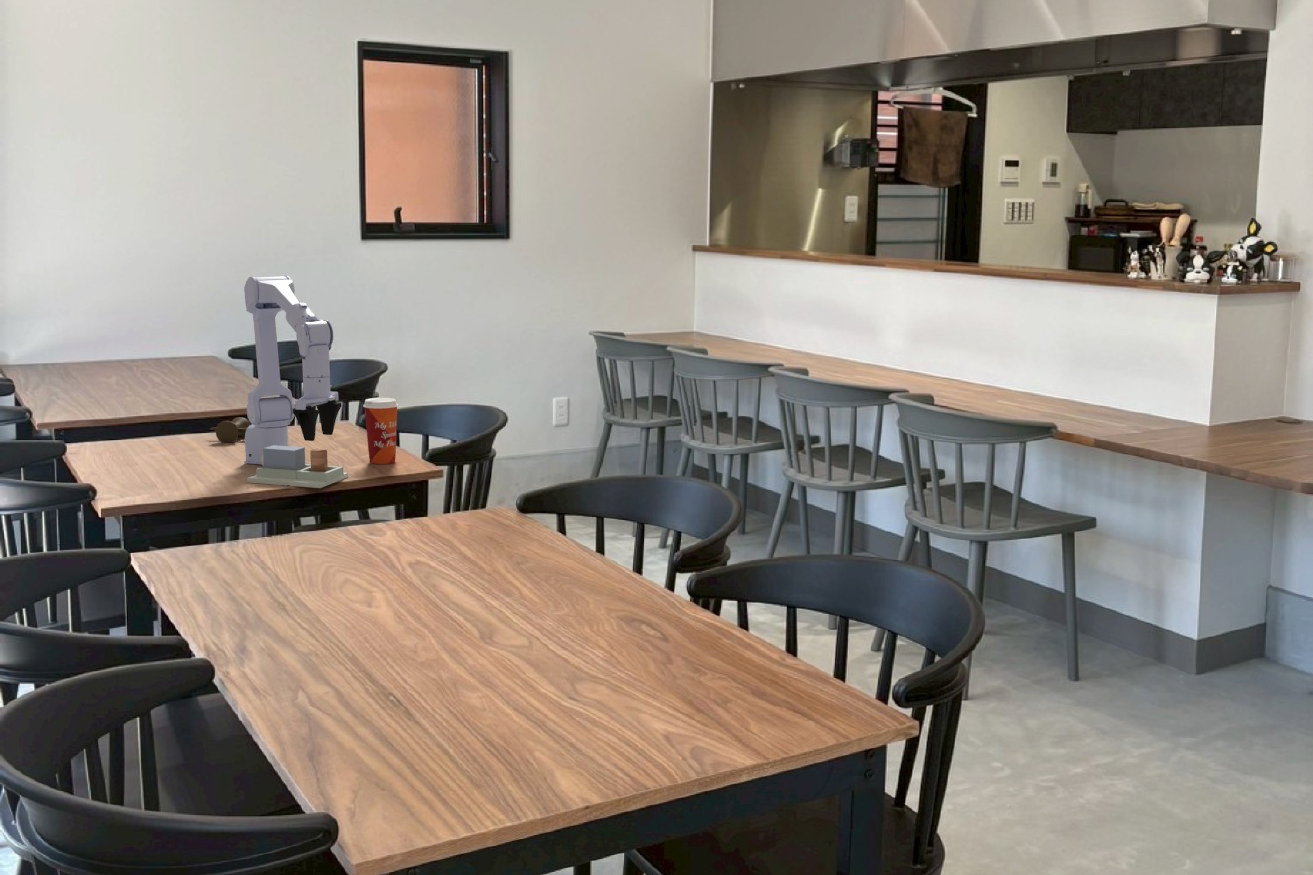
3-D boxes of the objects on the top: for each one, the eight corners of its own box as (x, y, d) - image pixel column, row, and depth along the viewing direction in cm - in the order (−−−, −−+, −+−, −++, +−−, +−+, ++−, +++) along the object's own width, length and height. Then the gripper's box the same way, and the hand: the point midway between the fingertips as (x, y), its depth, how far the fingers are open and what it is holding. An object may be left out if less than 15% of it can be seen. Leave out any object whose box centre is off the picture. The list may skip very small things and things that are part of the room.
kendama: (278, 447, 326) (202, 442, 328) (292, 441, 335) (218, 437, 337) (278, 424, 325) (201, 419, 327) (292, 418, 334) (218, 414, 336)
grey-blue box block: (260, 474, 286) (259, 448, 285) (270, 470, 289) (269, 444, 288) (295, 477, 283) (294, 450, 282) (305, 473, 287) (304, 447, 286)
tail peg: (321, 479, 281) (320, 452, 280) (307, 477, 283) (306, 451, 282) (331, 476, 285) (330, 449, 284) (317, 474, 286) (316, 448, 285)
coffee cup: (380, 466, 300) (378, 403, 297) (357, 462, 305) (355, 400, 302) (407, 461, 307) (406, 399, 304) (384, 457, 312) (383, 396, 309)
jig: (247, 482, 282) (246, 469, 282) (278, 471, 293) (277, 459, 293) (320, 488, 277) (320, 475, 277) (349, 477, 289) (348, 465, 288)
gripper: (314, 381, 272) (317, 444, 274) (349, 373, 285) (351, 433, 288) (285, 379, 274) (288, 442, 276) (321, 371, 287) (323, 431, 290)
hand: (318, 437), depth 282 cm, fingers open, 7 cm apart
